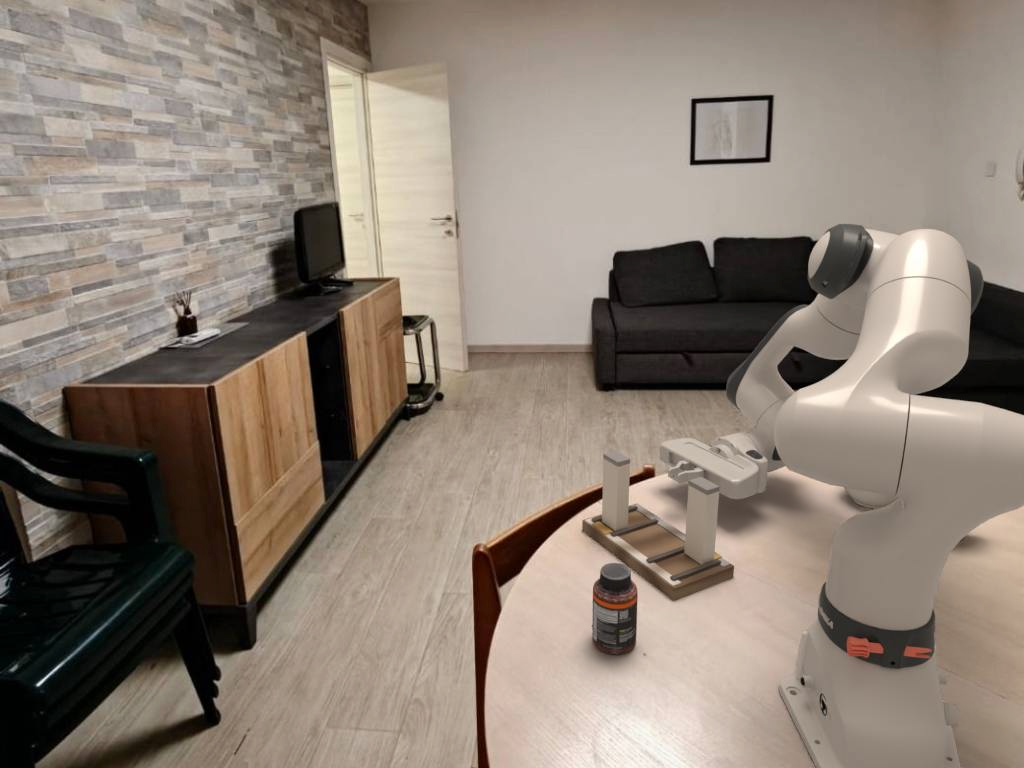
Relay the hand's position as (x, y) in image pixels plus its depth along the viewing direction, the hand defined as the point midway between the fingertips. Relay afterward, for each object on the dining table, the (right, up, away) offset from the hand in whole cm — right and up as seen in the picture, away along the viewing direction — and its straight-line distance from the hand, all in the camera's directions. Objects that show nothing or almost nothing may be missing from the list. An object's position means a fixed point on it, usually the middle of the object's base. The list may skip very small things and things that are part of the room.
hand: (673, 476), depth 129 cm
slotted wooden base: (-5, -12, -8) cm, 15 cm away
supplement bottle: (-15, -19, -30) cm, 38 cm away
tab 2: (+1, -11, -14) cm, 18 cm away
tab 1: (-11, -8, -4) cm, 14 cm away
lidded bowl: (+39, -6, +7) cm, 40 cm away
